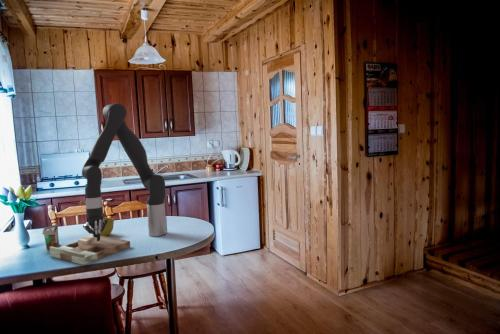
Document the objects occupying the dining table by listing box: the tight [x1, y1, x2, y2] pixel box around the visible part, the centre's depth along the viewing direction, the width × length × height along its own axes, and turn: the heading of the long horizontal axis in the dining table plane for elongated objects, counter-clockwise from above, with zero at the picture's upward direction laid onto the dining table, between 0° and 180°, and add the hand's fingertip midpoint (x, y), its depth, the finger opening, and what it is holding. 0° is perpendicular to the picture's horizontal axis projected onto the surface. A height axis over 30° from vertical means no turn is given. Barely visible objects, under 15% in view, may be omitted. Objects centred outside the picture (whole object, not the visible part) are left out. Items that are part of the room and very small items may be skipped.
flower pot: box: [100, 216, 115, 237], centre depth 204 cm, size 9×9×9 cm
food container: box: [41, 224, 60, 251], centre depth 185 cm, size 12×6×10 cm, turn 21°
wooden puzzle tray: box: [49, 236, 131, 266], centre depth 177 cm, size 26×25×4 cm
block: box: [77, 235, 98, 249], centre depth 175 cm, size 6×6×4 cm
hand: (97, 241), depth 180 cm, fingers closed
